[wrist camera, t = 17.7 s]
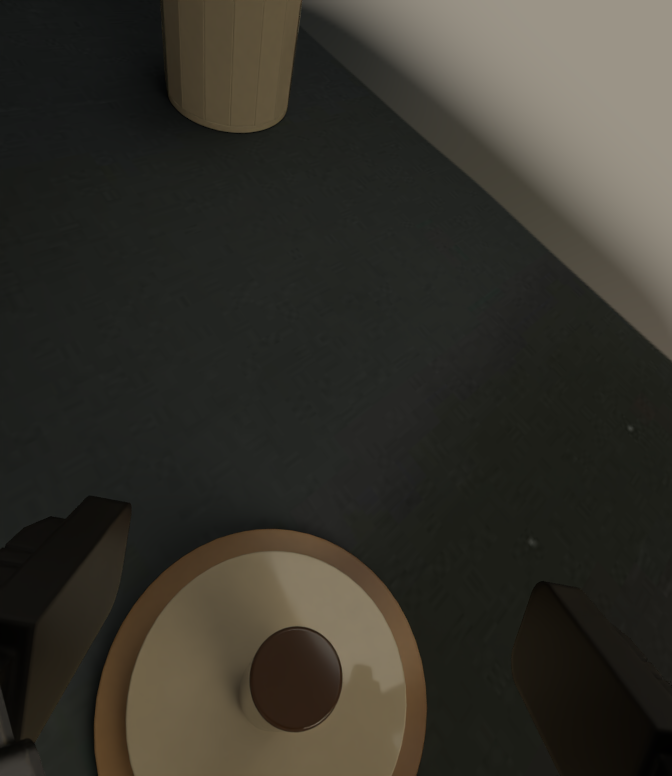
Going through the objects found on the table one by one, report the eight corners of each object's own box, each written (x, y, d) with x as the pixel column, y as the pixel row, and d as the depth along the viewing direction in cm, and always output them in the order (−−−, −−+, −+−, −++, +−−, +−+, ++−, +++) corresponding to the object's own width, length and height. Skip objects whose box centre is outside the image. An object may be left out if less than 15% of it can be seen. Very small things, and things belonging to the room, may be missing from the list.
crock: (308, 97, 35) (333, -62, 28) (247, 149, 31) (259, -21, 24) (212, 49, 35) (213, -118, 28) (140, 94, 31) (122, -86, 24)
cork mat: (462, 624, 19) (469, 621, 19) (335, 994, 14) (340, 1003, 13) (222, 484, 20) (223, 477, 20) (15, 778, 15) (9, 779, 14)
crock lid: (433, 636, 18) (519, 600, 13) (323, 933, 14) (388, 1050, 9) (230, 516, 19) (239, 439, 14) (66, 762, 15) (-8, 780, 10)
